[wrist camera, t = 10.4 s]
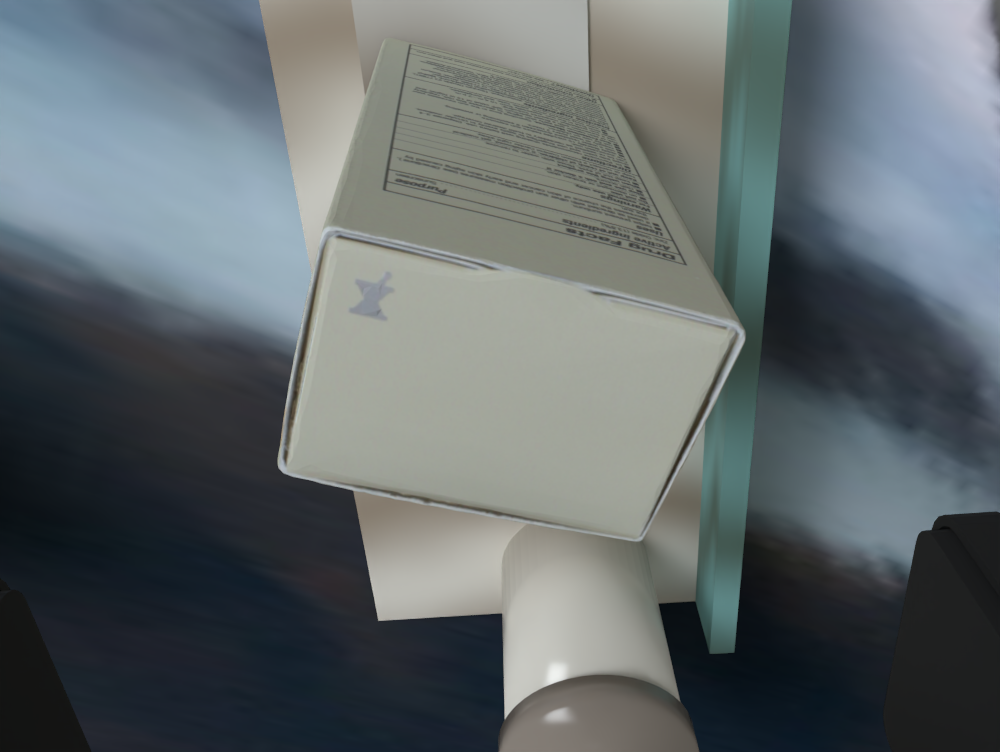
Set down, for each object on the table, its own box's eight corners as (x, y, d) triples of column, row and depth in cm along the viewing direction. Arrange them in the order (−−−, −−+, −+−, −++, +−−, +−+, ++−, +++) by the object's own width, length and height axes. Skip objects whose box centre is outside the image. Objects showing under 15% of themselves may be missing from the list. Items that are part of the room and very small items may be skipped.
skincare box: (349, 194, 24) (248, 477, 14) (383, 28, 22) (295, 215, 12) (579, 255, 25) (647, 560, 15) (634, 101, 23) (758, 332, 13)
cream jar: (652, 618, 33) (697, 829, 26) (501, 627, 33) (505, 839, 26) (654, 498, 30) (705, 700, 23) (489, 509, 30) (491, 712, 23)
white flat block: (709, 569, 34) (734, 652, 30) (382, 590, 34) (371, 674, 31) (752, -108, 22) (800, -96, 19) (260, -69, 23) (221, -50, 19)
